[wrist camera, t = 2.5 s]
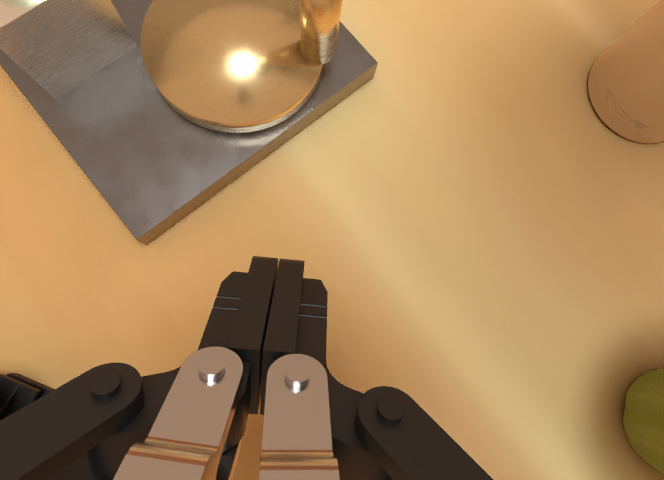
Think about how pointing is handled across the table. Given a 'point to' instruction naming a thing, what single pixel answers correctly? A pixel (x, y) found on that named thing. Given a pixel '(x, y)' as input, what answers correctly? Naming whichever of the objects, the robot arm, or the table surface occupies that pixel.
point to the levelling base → (141, 108)
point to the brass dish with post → (238, 57)
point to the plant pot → (646, 417)
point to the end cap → (18, 393)
